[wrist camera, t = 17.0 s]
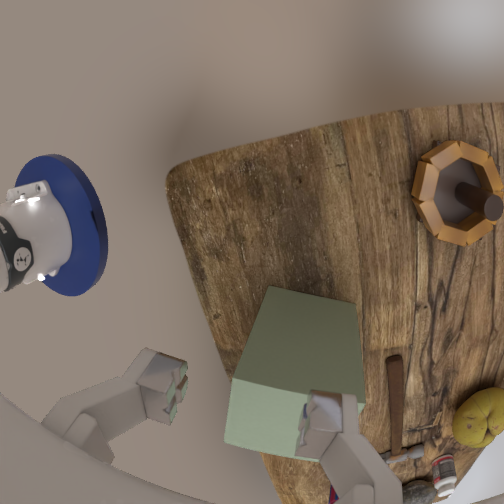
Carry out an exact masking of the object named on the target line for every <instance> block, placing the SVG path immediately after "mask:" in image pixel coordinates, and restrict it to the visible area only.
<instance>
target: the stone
mask: <svg viewBox="0 0 504 504" xmlns="http://www.w3.org/2000/svg"><path fill="white" fill-rule="evenodd" d="M436 490H437V489H436V488H435V487H434V484H433V483H428V482H426V481H424V480H415V481H412V482H410V483H408V484H407V485H406V486H405V487H403V488H402V495H403V504H432V502H433V500H434V498H435V496H436V494H437V491H436Z"/></svg>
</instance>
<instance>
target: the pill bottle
mask: <svg viewBox="0 0 504 504" xmlns="http://www.w3.org/2000/svg"><path fill="white" fill-rule="evenodd" d="M432 471H433V478H434V487H435V488H436V489H439V490H438V496H439V497H441V496H446V495H448V494H450V493H452V492H454V491H455V485H454V483H455V482H456V480H457V477H456V472H455V466H454V460H453V456H452V455H450V454H448V455H443V456H441V457H438V458H437V459H435V460H434V461H433V462H432Z"/></svg>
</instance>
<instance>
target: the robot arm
mask: <svg viewBox="0 0 504 504" xmlns="http://www.w3.org/2000/svg"><path fill="white" fill-rule="evenodd" d="M71 251H72V234H71V228H70V224H69V221H68V218H67V216H66V213H65V211H64V209H63V208H62V206H61V204H60V203H59V202H58V200H57V199H56V198H55V197H54V195H53V194H52V191H51V189H50V186H49V184H48V182H47V181H46V180H41V181H37V182H33V183H29V184H25V185H22V186H18V187H14V188H11V189H9V190H8V192H7V198H6V202H3V203H1V204H0V293H1V292H2V291H5V292H6V291H9V290H10V289H13V288H15V287H16V286H17V285H18V284H20V283H21V282H23V283H25V284H29V283H31V282H33V281H35V280H37V279H39V280H41V281H42V280H44V279H45V278H44V277H43V276H45V275H47V274H49V275H50V276H55V275H57V274H58V272H59V269H60V267H61V266H62V265H63V264H65V263H66V262H67V261H68V259H69V257H70V255H71ZM187 369H188V366H187V362H186V361H184V360H181V359H178V358H175V357H172V356H169V355H166V354H163V353H160V352H157V351H154V350H152V349H149V348H144V349H143V350H141V352H140V353H139V354H138V356H137V357H136V358H135V360H134V361H133V363H132V364H131V365H130V367H129V368H128V369H127V371H126V372H125V373H124V375H123V376H122V378H120V377H115V378H113V379H110V380H108V381H105V382H103V383H100V384H97V385H95V386H92V387H90V388H87V389H84V390H82V391H79V392H76V393H73V394H71V395H68V396H65V397H62V398H60V400H59V401H58V402H57V403H56V404H55V406H54V407H53V408H52V409H51V411H50V412H49V413H48V414H47V416H46V417H45V418H44V419H43V421H42V422H41V423H39V422H37V421H36V420H35V419H33V418H32V417H30V416H29V415H28V414H26V413H25V412H24V411H22V410H21V409H20V408H18V407H17V406H16V405H15V404H13V403H12V402H11V401H10V400H8V399H7V398H6V397H5V396H4V395H3V394H1V393H0V504H214V503H211V502H207V501H203V500H200V499H196V498H193V497H190V496H186V495H183V494H180V493H177V492H174V491H171V490H168V489H166V488H163V487H160V486H158V485H155V484H152V483H150V482H147V481H145V480H142V479H140V478H138V477H135V476H133V475H131V474H129V473H126V472H124V471H122V470H119V469H118V468H116V467H113V466H111V463H112V461H113V459H114V454H113V452H112V450H111V448H110V446H109V445H108V443H107V442H108V441H110V440H112V439H114V438H115V437H117V436H119V435H121V434H122V433H124V432H126V431H128V430H129V429H131V428H133V427H134V426H136V425H138V424H140V423H141V422H143V421H144V420H146V419H147V418H149V419H152V420H155V421H158V422H161V423H164V424H167V425H171V423H172V421H173V418H174V417H175V415H176V413H177V404H178V403H181V402H182V400H183V398H184V395H185V393H186V389H187V385H188V377H187V376H186V374H185V373H186V371H187ZM298 430H299V432H300V434H299V436H298V438H297V440H296V448H295V456H299V457H305V458H312V459H320V460H319V462H320V464H321V465H322V467H323V469H324V471H325V473H326V475H327V477H328V479H329V481H330V482H331V484H332V486H333V488H334V490H335V492H336V494H337V495H338V497H339V499H338V500H337V501H336V502H335V503H333V504H403V495H402V482H401V481H400V480H399V479H398V477H397V476H396V475H395V474H394V473H393V471H392V470H391V469H390V468H389V466H388V465H387V464H386V463H385V461H384V460H383V459H382V457H381V456H380V455H379V454H378V452H377V451H376V450H375V449H374V447H373V446H372V445H371V444H370V442H369V441H368V440H367V438H366V437H365V436H364V435H361V434H359V419H358V405H357V397H356V395H352V394H344V393H337V392H329V391H321V390H314V389H311V390H310V392H309V394H308V396H307V403H305V404H304V406H303V408H302V411H301V414H300V418H299V424H298ZM472 504H504V493H503V494H500V495H497V496H494V497H491V498H489V499H485V500H482V501H479V502H475V503H472Z"/></svg>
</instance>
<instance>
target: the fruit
mask: <svg viewBox="0 0 504 504" xmlns="http://www.w3.org/2000/svg"><path fill="white" fill-rule="evenodd" d="M503 430H504V389H502V388H498V387H491V388H487V389H484V390H481V391H478V392H476V393H475V394H473V395H472V396H471V397H470V398H468V399H467V400H466V401H465V402H464V403H463V404H462V405H461V406H460V408H459V409H458V410H457V412H456V413H455V415H454V419H453V424H452V431H453V435H454V437H455V439H456V440H457V441H458V442H459V443H461V444H463V445H467V446H469V447H473V448H481V447H485V446H487V445H489V444H490V443H491V442H492V441H493V440H494V438H495V437H496V435H499V434H500V433H501V432H502V431H503Z"/></svg>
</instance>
